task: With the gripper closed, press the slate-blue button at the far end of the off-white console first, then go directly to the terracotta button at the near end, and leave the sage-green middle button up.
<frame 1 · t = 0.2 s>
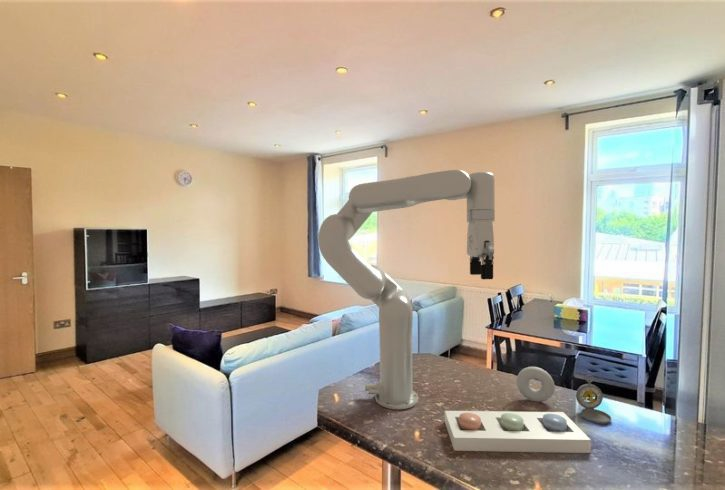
hand: (481, 276, 102), 36 cm above the kitchen counter, tool pointing down, fingers open, 9 cm apart
sage button: (512, 422, 86), point 3 cm above the kitchen counter, slide at 0.0 cm
pocket watch: (594, 416, 95), on the kitchen counter
slate button: (554, 423, 86), point 3 cm above the kitchen counter, slide at 0.0 cm
donut: (535, 401, 104), on the kitchen counter
console: (512, 436, 86), on the kitchen counter
terracotta button: (469, 421, 87), point 3 cm above the kitchen counter, slide at 0.0 cm
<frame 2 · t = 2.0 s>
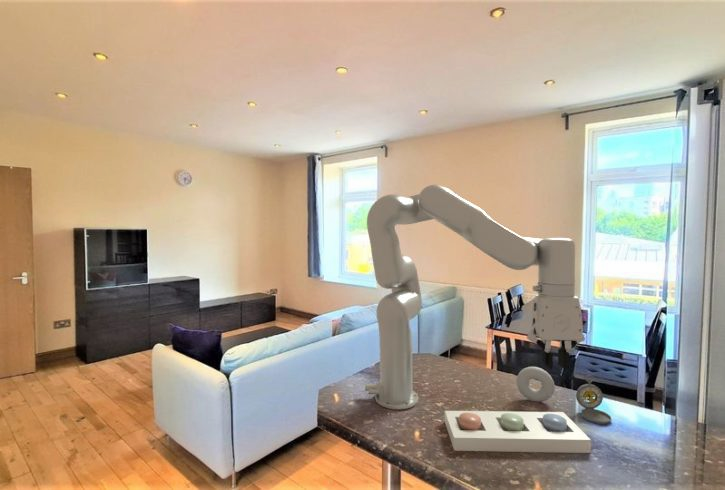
hand: (555, 366, 85), 17 cm above the kitchen counter, tool pointing down, fingers closed
nothing on the kitchen counter moved.
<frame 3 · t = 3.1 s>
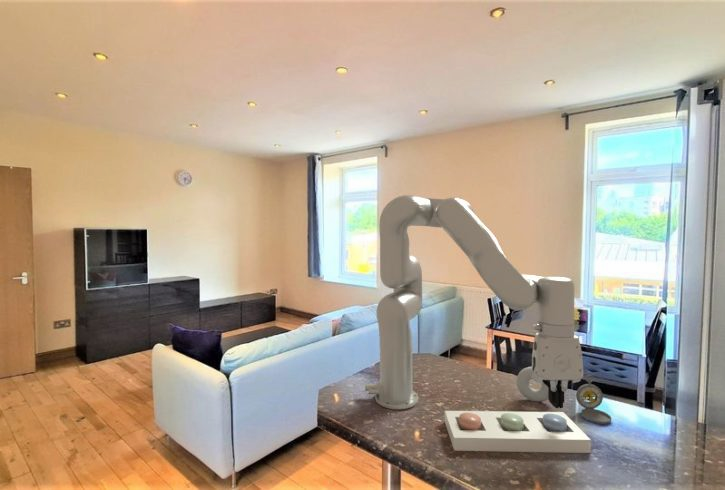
hand: (556, 405, 85), 8 cm above the kitchen counter, tool pointing down, fingers closed
nothing on the kitchen counter moved.
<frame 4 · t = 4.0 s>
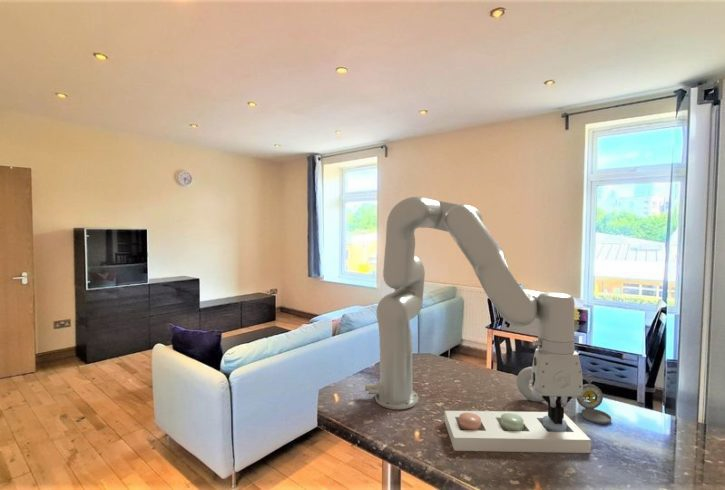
hand: (555, 420, 85), 4 cm above the kitchen counter, tool pointing down, fingers closed
slate button: (554, 424, 86), point 3 cm above the kitchen counter, slide at 0.4 cm, touching gripper
everything else where it was.
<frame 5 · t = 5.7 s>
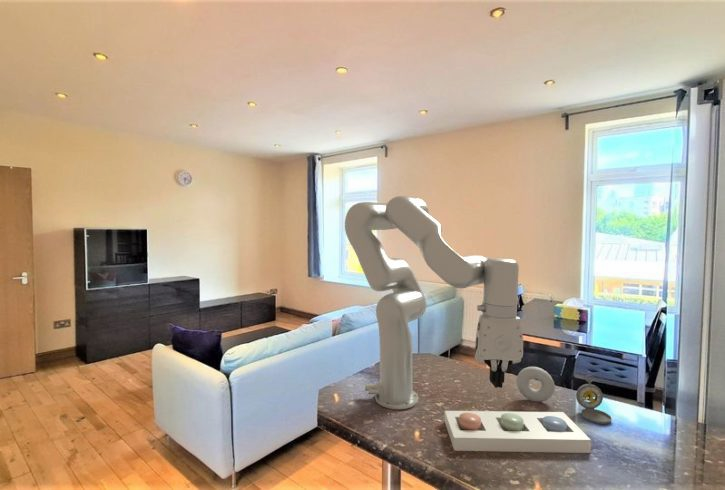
hand: (496, 385, 86), 12 cm above the kitchen counter, tool pointing down, fingers closed
slate button: (554, 425, 86), point 3 cm above the kitchen counter, slide at 0.6 cm
everything else where it was.
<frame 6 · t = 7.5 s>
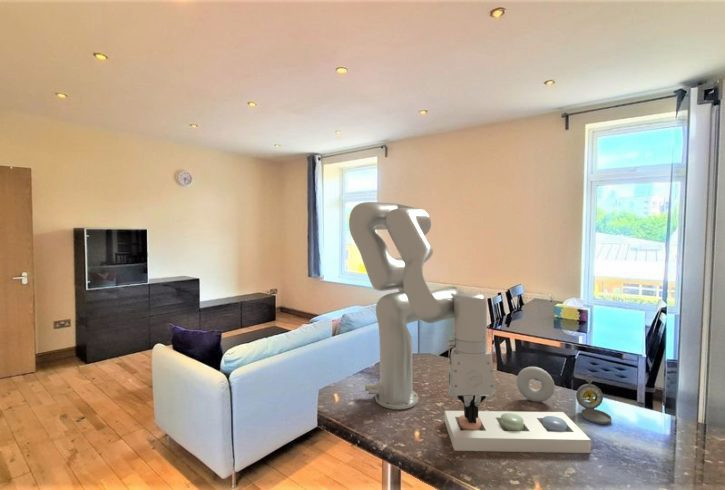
hand: (471, 420, 86), 4 cm above the kitchen counter, tool pointing down, fingers closed
terracotta button: (469, 423, 87), point 3 cm above the kitchen counter, slide at 0.5 cm
everything else where it was.
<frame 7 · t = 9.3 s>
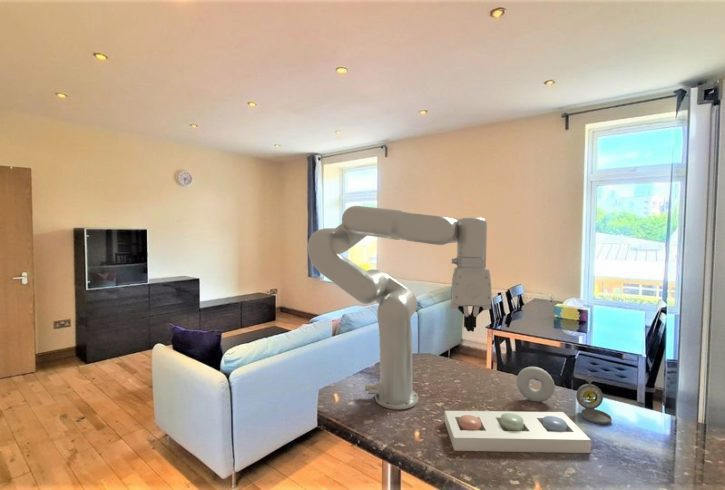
hand: (469, 329, 98), 22 cm above the kitchen counter, tool pointing down, fingers closed
nothing on the kitchen counter moved.
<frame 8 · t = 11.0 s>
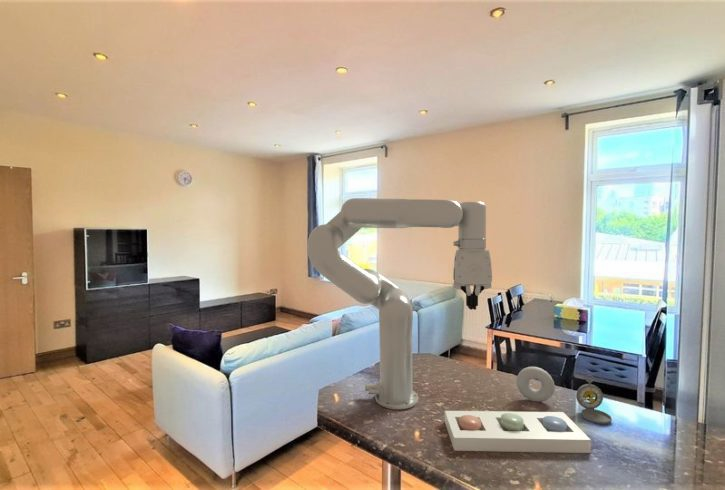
hand: (472, 308, 103), 27 cm above the kitchen counter, tool pointing down, fingers closed
nothing on the kitchen counter moved.
at the end: slate button slide at 0.6 cm; terracotta button slide at 0.6 cm; sage button slide at 0.0 cm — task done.
